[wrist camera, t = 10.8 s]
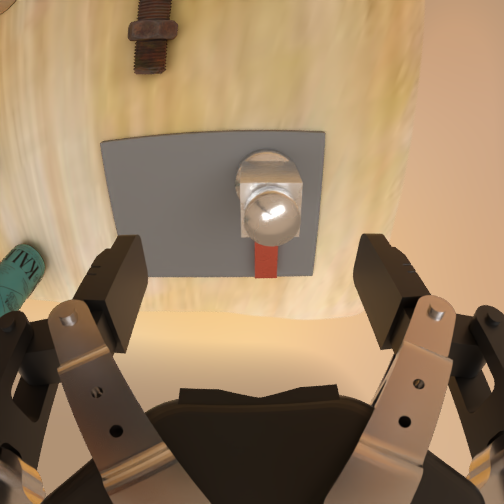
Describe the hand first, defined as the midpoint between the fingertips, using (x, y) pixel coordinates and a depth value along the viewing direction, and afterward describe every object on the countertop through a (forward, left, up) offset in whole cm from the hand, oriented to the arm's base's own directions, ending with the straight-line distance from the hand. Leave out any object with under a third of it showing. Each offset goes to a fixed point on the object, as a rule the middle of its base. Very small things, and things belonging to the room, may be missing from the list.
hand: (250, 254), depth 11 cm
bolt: (-9, +14, -24) cm, 29 cm away
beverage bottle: (-32, -15, -24) cm, 43 cm away
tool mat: (-4, -9, -24) cm, 26 cm away
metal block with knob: (+2, -5, -21) cm, 21 cm away
